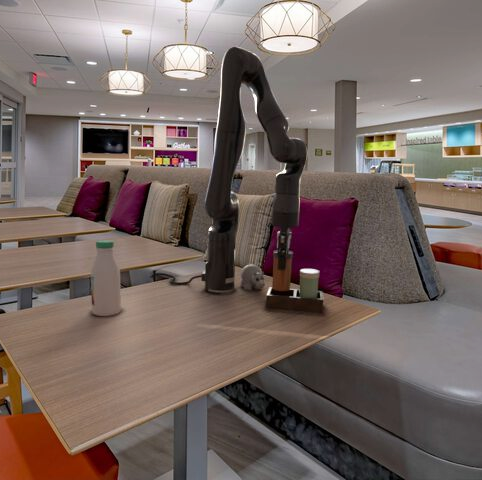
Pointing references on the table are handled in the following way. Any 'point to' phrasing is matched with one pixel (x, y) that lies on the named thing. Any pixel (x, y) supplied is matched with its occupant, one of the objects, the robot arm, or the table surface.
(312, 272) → the green jar
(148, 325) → the table surface
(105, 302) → the milk bottle
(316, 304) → the jar stand
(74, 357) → the table surface
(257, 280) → the chubby cartoon animal
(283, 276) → the amber jar
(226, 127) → the robot arm
